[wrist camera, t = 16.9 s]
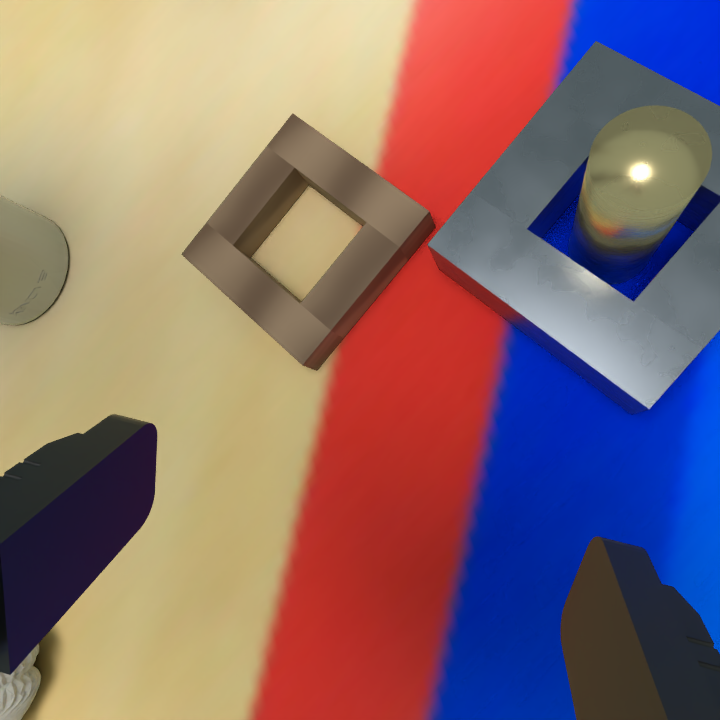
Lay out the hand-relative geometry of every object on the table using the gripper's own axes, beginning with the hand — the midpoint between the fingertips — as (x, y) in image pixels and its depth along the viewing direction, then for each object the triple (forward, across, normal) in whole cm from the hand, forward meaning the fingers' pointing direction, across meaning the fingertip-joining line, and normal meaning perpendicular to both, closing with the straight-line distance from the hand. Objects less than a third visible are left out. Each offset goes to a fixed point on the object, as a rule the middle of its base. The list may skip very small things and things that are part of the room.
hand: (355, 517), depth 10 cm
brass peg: (+26, -10, -3) cm, 28 cm away
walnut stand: (+29, +8, +1) cm, 30 cm away
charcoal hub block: (+26, -10, -3) cm, 28 cm away
